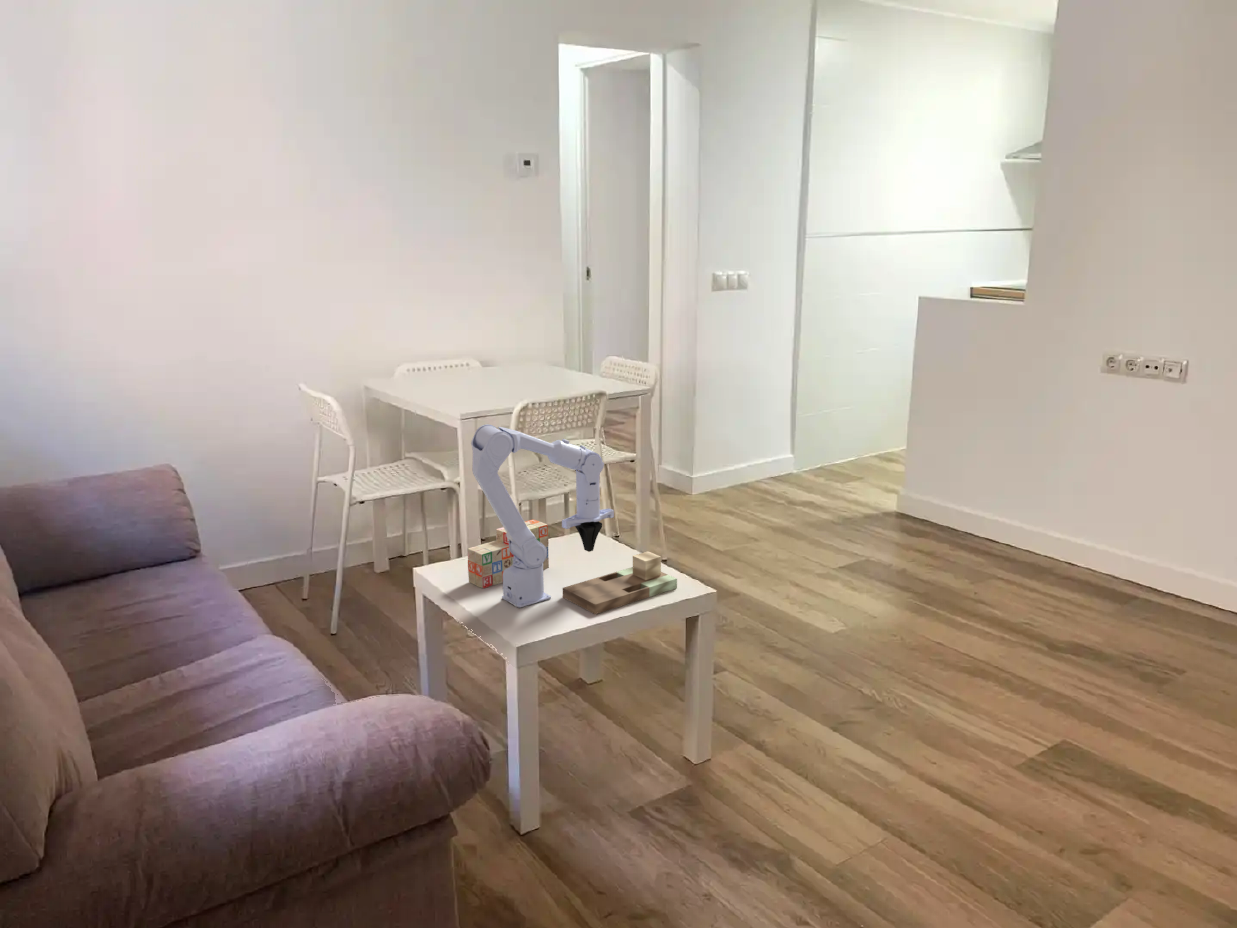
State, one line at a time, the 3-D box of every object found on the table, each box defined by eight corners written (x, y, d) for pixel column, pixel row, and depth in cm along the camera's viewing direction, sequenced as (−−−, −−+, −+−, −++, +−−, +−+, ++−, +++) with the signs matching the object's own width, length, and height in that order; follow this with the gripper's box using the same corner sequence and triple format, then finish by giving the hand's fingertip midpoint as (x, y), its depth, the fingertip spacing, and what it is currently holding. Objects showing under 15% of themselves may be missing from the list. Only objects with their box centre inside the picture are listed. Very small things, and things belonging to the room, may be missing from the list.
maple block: (645, 580, 237) (645, 561, 236) (632, 574, 241) (632, 555, 240) (660, 575, 240) (661, 556, 239) (647, 569, 244) (648, 551, 243)
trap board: (595, 614, 224) (595, 604, 223) (562, 597, 233) (562, 587, 233) (676, 587, 239) (677, 578, 238) (643, 572, 249) (643, 563, 248)
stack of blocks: (482, 589, 239) (480, 542, 236) (468, 582, 243) (466, 536, 240) (549, 567, 253) (548, 523, 250) (534, 561, 257) (533, 518, 254)
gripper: (573, 507, 227) (574, 561, 231) (621, 495, 236) (621, 548, 240) (556, 500, 233) (557, 553, 236) (603, 489, 241) (604, 540, 245)
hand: (588, 550), depth 238 cm, fingers closed
